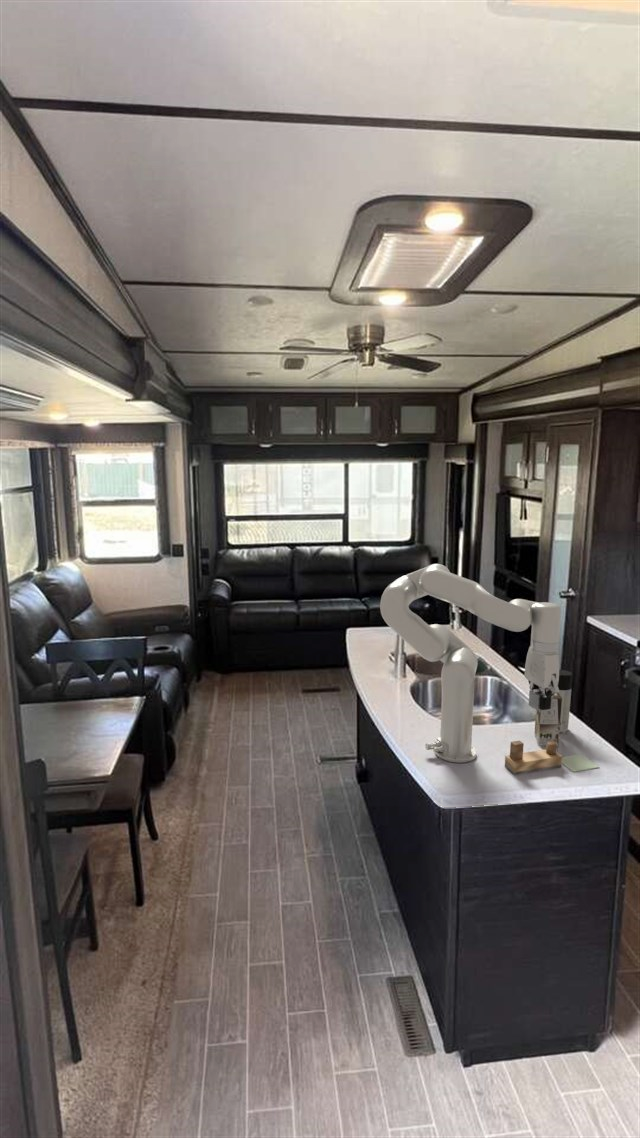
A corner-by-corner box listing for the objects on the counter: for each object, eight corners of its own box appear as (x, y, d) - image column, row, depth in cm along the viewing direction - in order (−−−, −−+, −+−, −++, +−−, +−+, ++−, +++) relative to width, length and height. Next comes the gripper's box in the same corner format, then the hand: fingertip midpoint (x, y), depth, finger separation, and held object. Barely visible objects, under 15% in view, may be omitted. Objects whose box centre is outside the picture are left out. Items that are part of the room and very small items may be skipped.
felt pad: (573, 772, 177) (573, 771, 177) (555, 759, 184) (555, 758, 184) (599, 767, 179) (599, 766, 179) (580, 755, 187) (580, 754, 187)
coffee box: (559, 747, 192) (562, 699, 189) (537, 745, 193) (541, 697, 190) (554, 734, 201) (557, 688, 198) (533, 733, 202) (536, 687, 199)
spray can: (544, 724, 209) (548, 668, 205) (564, 724, 208) (568, 669, 205) (550, 733, 202) (554, 675, 199) (571, 733, 202) (575, 676, 198)
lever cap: (536, 710, 174) (538, 692, 173) (528, 704, 178) (529, 687, 177) (551, 708, 176) (553, 690, 175) (543, 703, 179) (544, 685, 178)
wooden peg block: (514, 774, 175) (516, 747, 174) (504, 766, 180) (506, 739, 178) (561, 767, 180) (563, 740, 178) (550, 759, 184) (552, 733, 183)
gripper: (515, 638, 180) (512, 696, 184) (552, 655, 164) (547, 719, 168) (537, 636, 182) (533, 694, 186) (575, 653, 167) (570, 716, 170)
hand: (540, 705), depth 177 cm, fingers closed on lever cap, 4 cm apart
